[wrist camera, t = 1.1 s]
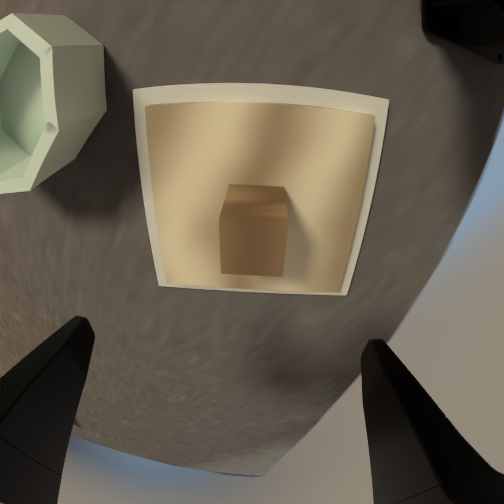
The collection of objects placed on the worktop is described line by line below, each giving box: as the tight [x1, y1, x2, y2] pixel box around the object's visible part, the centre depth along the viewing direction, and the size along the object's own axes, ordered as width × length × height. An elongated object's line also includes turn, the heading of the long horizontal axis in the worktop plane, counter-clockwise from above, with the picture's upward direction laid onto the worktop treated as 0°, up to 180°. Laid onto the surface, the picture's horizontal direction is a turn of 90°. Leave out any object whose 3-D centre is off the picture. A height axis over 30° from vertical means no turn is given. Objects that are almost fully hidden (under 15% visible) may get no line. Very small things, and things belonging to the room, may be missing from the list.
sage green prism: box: [0, 13, 107, 194], centre depth 12 cm, size 10×10×5 cm
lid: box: [145, 101, 375, 292], centre depth 16 cm, size 12×12×5 cm
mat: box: [133, 83, 389, 295], centre depth 18 cm, size 14×14×1 cm
